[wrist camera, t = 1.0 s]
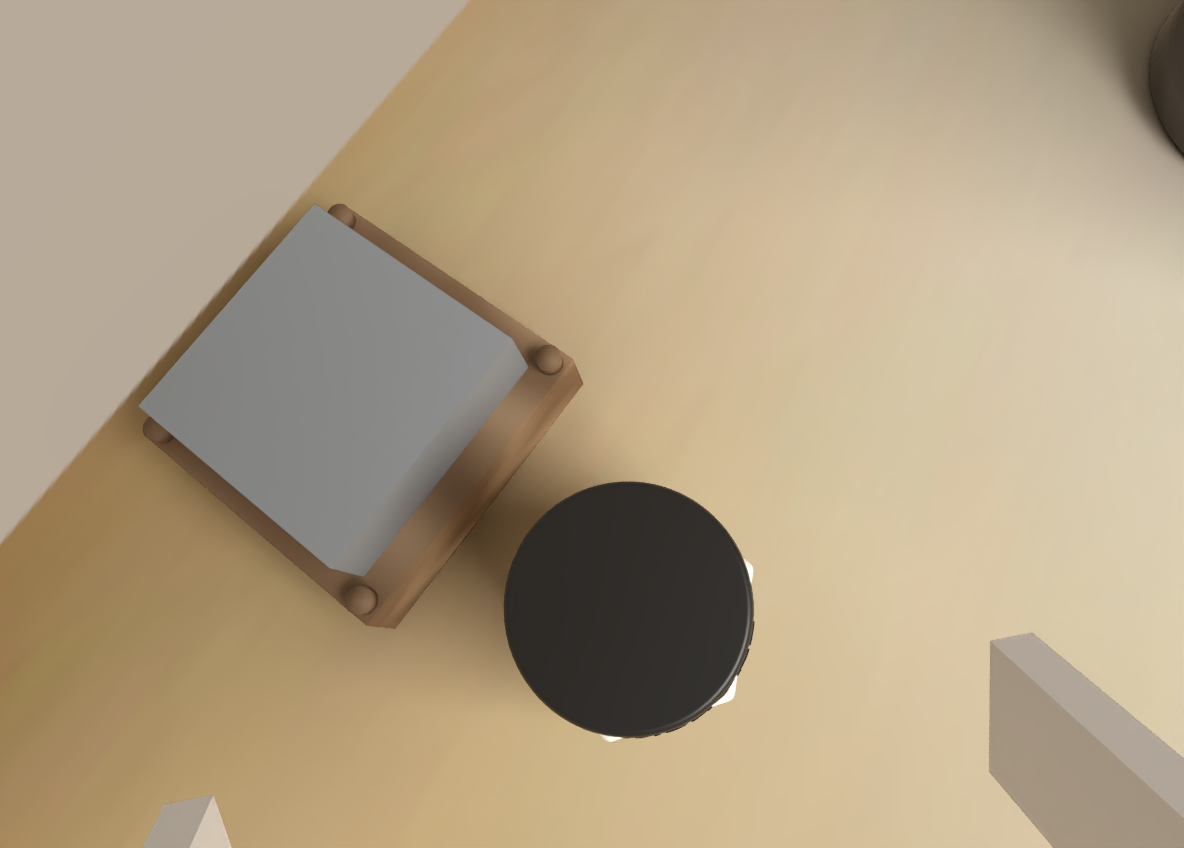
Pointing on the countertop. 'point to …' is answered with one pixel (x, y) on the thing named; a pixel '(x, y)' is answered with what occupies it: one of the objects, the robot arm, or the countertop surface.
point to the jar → (629, 610)
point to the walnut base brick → (456, 493)
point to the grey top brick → (336, 390)
